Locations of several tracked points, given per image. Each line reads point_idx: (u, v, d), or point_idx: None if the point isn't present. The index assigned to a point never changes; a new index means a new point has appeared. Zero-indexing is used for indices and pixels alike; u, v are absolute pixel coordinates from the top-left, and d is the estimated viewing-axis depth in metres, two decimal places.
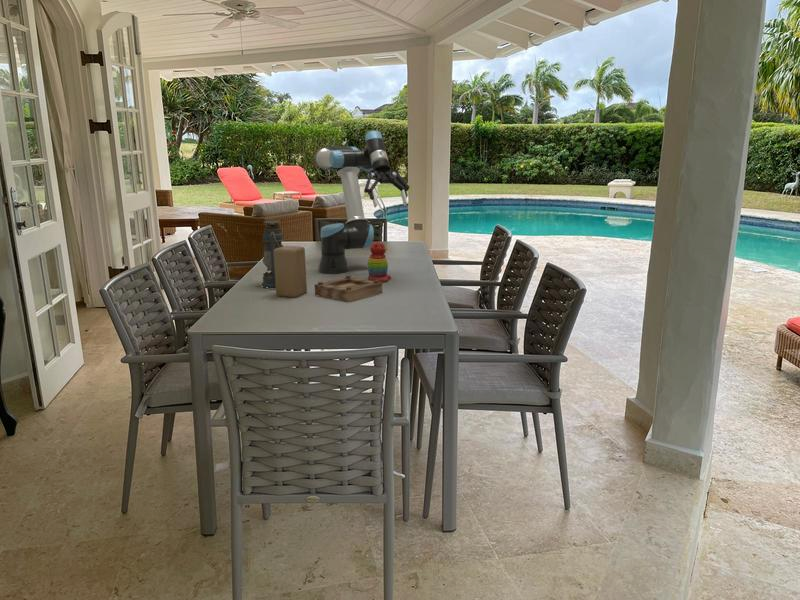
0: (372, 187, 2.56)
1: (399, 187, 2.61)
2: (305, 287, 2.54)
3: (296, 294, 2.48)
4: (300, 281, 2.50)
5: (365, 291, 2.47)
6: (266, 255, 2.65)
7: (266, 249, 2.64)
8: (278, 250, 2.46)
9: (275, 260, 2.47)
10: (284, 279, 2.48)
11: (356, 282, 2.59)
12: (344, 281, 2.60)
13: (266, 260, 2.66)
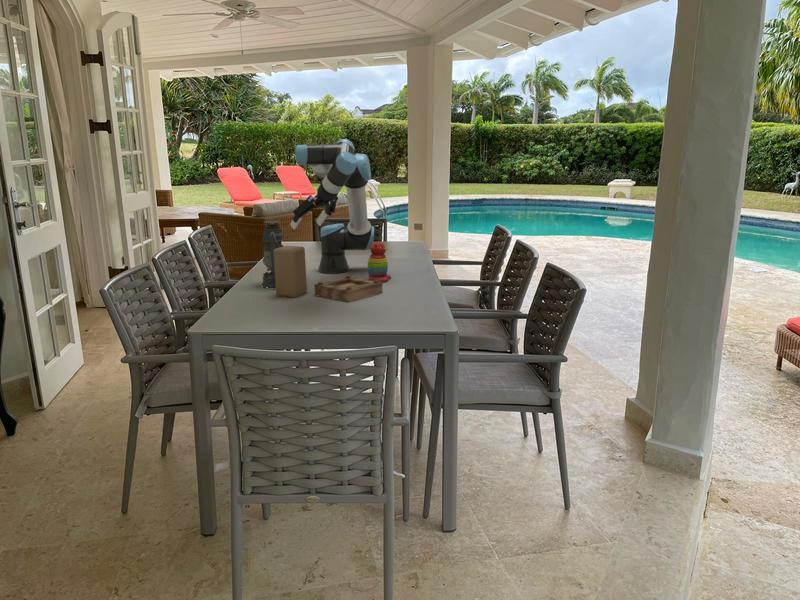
0: (303, 214, 2.30)
1: (326, 209, 2.40)
2: (305, 287, 2.54)
3: (296, 294, 2.48)
4: (300, 281, 2.50)
5: (365, 291, 2.47)
6: (266, 255, 2.65)
7: (266, 249, 2.64)
8: (278, 250, 2.46)
9: (275, 260, 2.47)
10: (284, 279, 2.48)
11: (356, 282, 2.59)
12: (344, 281, 2.60)
13: (266, 260, 2.66)
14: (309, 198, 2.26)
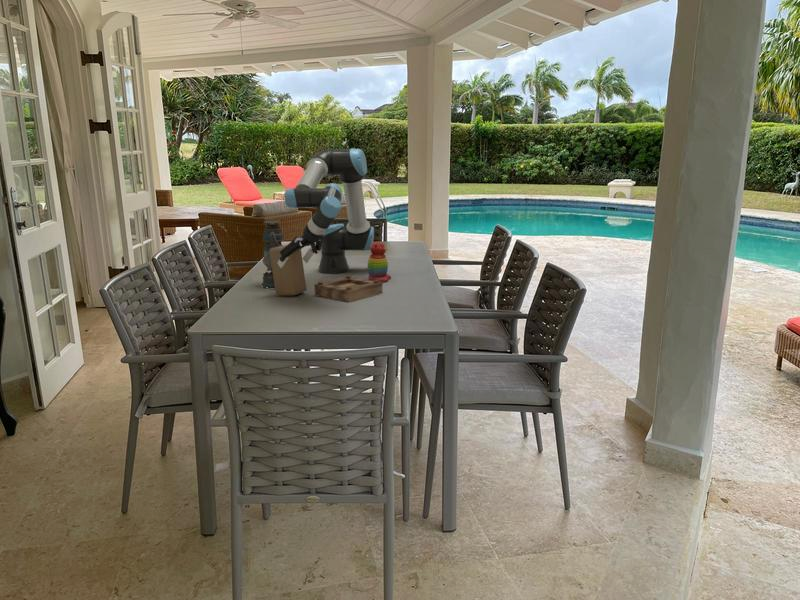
0: (289, 254, 2.38)
1: (312, 248, 2.48)
2: (304, 285, 2.54)
3: (296, 292, 2.48)
4: (298, 278, 2.50)
5: (365, 291, 2.47)
6: (266, 255, 2.65)
7: (266, 249, 2.64)
8: (274, 249, 2.46)
9: (272, 260, 2.48)
10: (283, 278, 2.48)
11: (356, 282, 2.59)
12: (344, 281, 2.60)
13: (266, 260, 2.66)
14: (295, 239, 2.34)
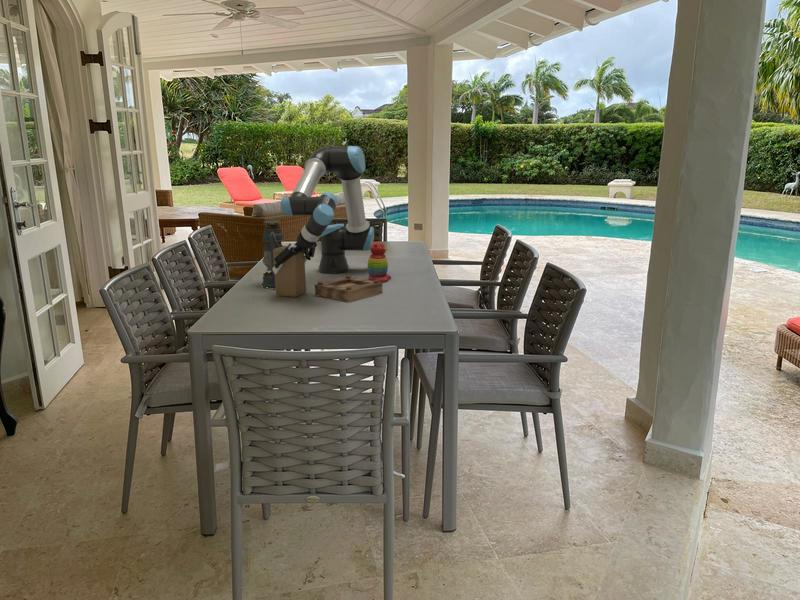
0: (283, 261, 2.43)
1: (305, 254, 2.52)
2: (304, 287, 2.55)
3: (296, 294, 2.49)
4: (300, 280, 2.51)
5: (365, 291, 2.47)
6: (266, 255, 2.65)
7: (266, 249, 2.64)
8: (278, 250, 2.46)
9: None
10: (284, 279, 2.48)
11: (356, 282, 2.59)
12: (344, 281, 2.60)
13: (266, 260, 2.66)
14: (289, 246, 2.39)
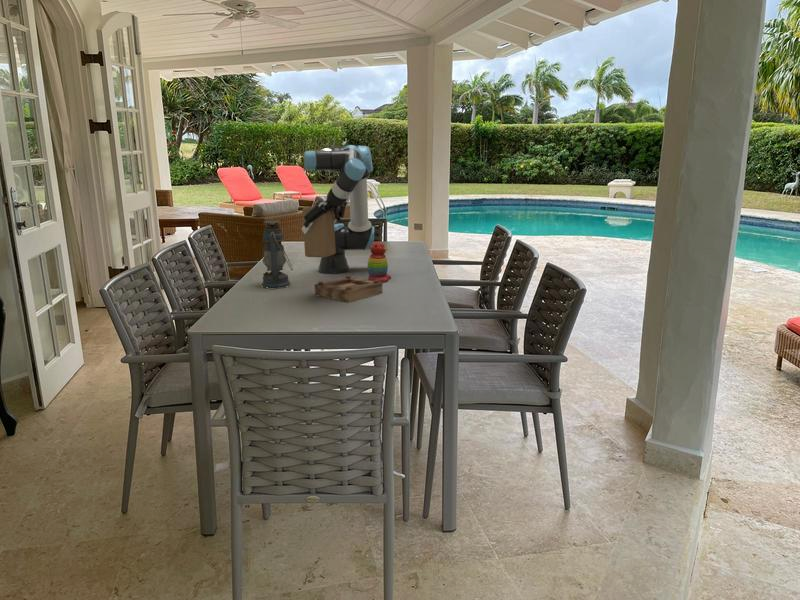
0: (313, 219, 2.37)
1: (335, 214, 2.47)
2: (334, 248, 2.49)
3: (326, 254, 2.43)
4: (329, 241, 2.45)
5: (365, 291, 2.47)
6: (266, 255, 2.65)
7: (266, 249, 2.64)
8: (307, 209, 2.41)
9: (304, 219, 2.42)
10: (314, 239, 2.42)
11: (356, 282, 2.59)
12: (344, 281, 2.60)
13: (266, 260, 2.66)
14: (319, 204, 2.33)
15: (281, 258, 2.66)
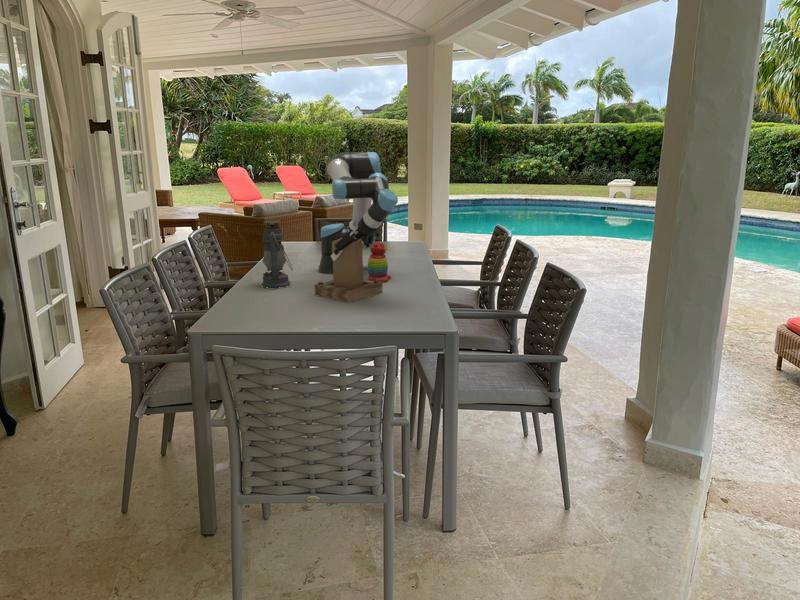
0: (344, 247, 2.40)
1: (364, 241, 2.50)
2: (362, 279, 2.53)
3: (355, 286, 2.47)
4: (358, 273, 2.49)
5: (365, 291, 2.47)
6: (266, 255, 2.65)
7: (266, 249, 2.64)
8: None
9: None
10: (343, 272, 2.47)
11: None
12: None
13: (266, 260, 2.66)
14: (350, 232, 2.36)
15: (281, 258, 2.66)
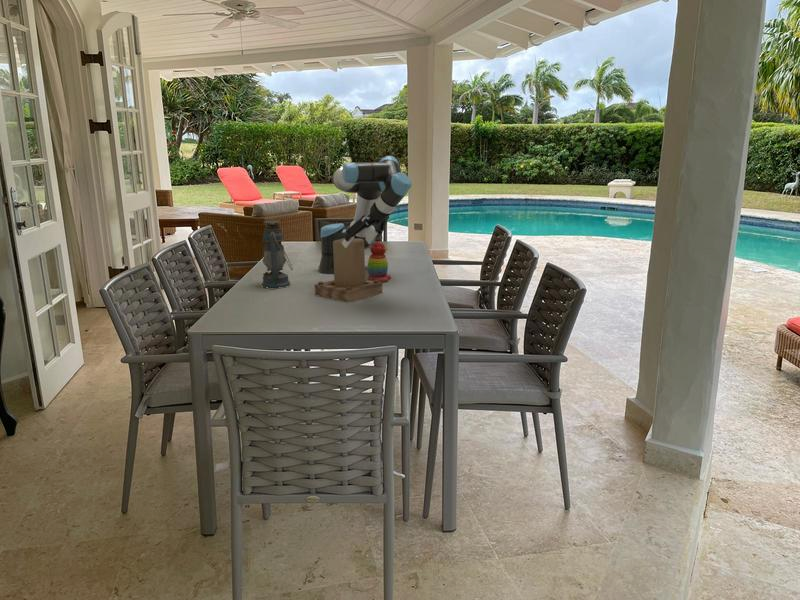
0: (355, 234, 2.32)
1: (376, 228, 2.42)
2: (363, 280, 2.53)
3: (354, 286, 2.47)
4: (359, 273, 2.49)
5: (365, 291, 2.47)
6: (266, 255, 2.65)
7: (266, 249, 2.64)
8: (338, 242, 2.45)
9: (334, 252, 2.47)
10: (343, 271, 2.47)
11: None
12: None
13: (266, 260, 2.66)
14: (362, 218, 2.28)
15: (281, 258, 2.66)
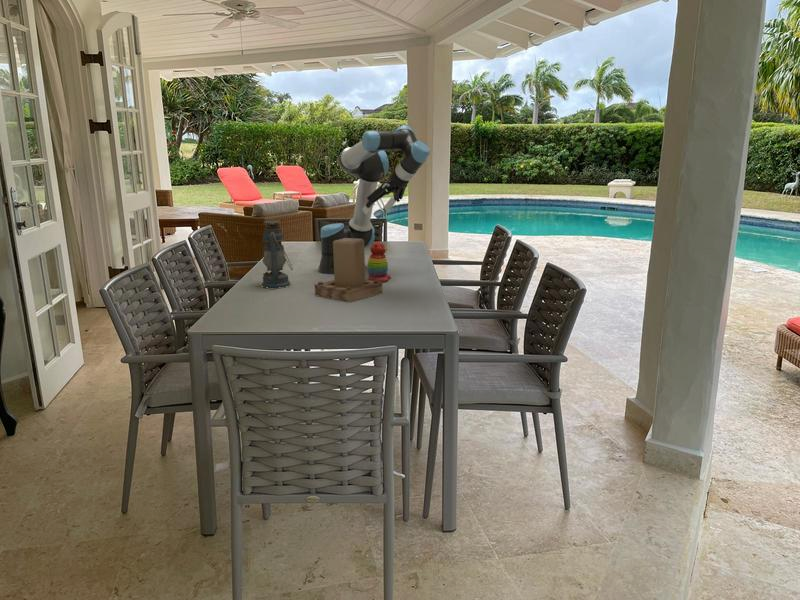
0: (376, 200, 2.46)
1: (395, 196, 2.56)
2: (363, 280, 2.53)
3: (354, 286, 2.47)
4: (359, 273, 2.49)
5: (365, 291, 2.47)
6: (266, 255, 2.65)
7: (266, 249, 2.64)
8: (338, 242, 2.45)
9: (334, 252, 2.47)
10: (343, 272, 2.47)
11: None
12: None
13: (266, 260, 2.66)
14: (383, 185, 2.42)
15: (281, 258, 2.66)
